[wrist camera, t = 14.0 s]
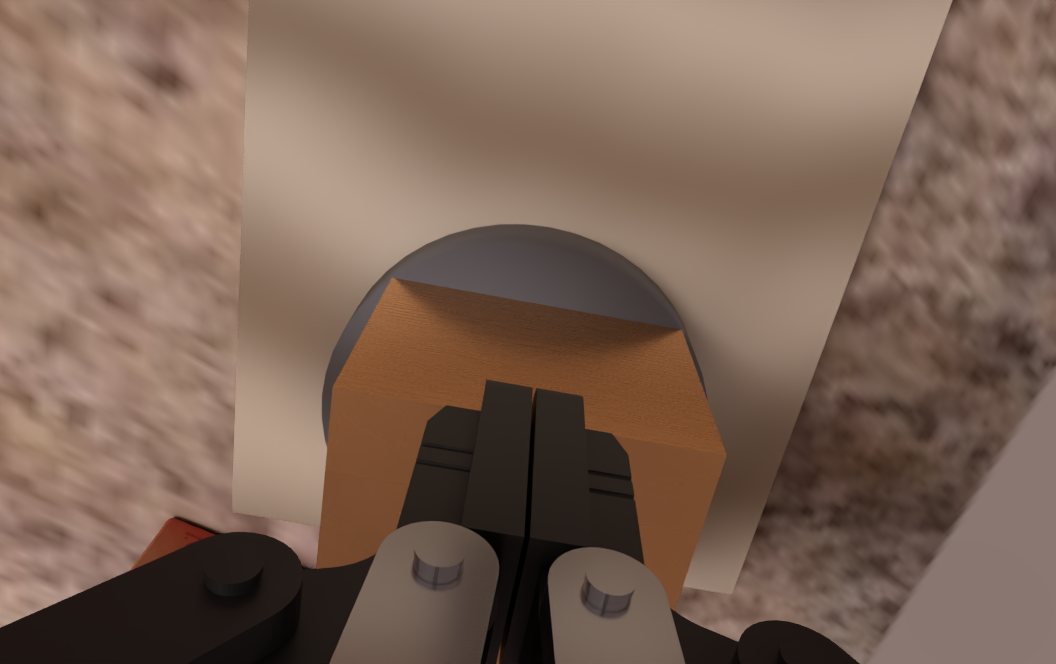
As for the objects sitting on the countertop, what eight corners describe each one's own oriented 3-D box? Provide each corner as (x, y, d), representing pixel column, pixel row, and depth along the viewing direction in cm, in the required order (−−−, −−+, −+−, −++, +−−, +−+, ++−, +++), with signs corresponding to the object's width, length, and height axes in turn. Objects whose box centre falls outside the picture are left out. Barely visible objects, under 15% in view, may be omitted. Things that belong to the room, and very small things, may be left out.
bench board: (304, -701, 13) (69, -1329, 7) (1102, -514, 14) (1570, -931, 8) (250, 479, 23) (134, 673, 17) (721, 559, 24) (782, 774, 17)
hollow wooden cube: (392, 277, 17) (332, 387, 13) (682, 329, 17) (726, 455, 13) (364, 515, 20) (306, 678, 15) (616, 557, 20) (634, 729, 15)
